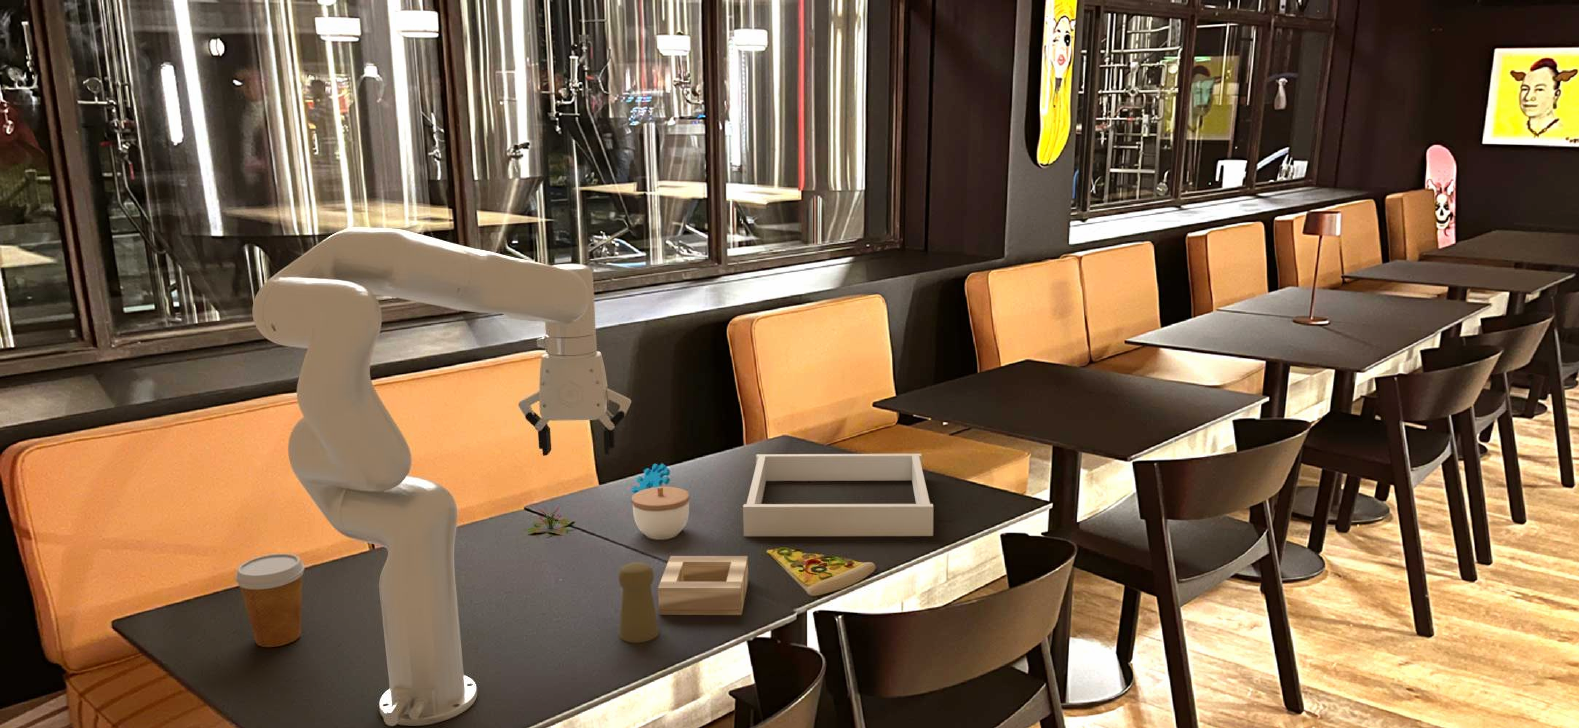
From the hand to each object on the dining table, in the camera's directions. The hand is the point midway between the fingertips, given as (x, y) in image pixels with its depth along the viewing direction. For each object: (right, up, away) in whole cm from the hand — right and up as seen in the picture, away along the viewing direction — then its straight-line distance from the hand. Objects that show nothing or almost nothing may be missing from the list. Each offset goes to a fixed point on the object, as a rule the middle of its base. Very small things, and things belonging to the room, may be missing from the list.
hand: (577, 452), depth 173 cm
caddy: (+19, -24, +7) cm, 32 cm away
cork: (+10, -27, -5) cm, 30 cm away
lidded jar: (+9, -18, +35) cm, 41 cm away
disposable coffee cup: (-45, -28, -4) cm, 53 cm away
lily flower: (-13, -18, +39) cm, 45 cm away
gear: (+4, -16, +51) cm, 53 cm away
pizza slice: (+36, -22, +18) cm, 46 cm away
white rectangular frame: (+43, -15, +48) cm, 66 cm away
